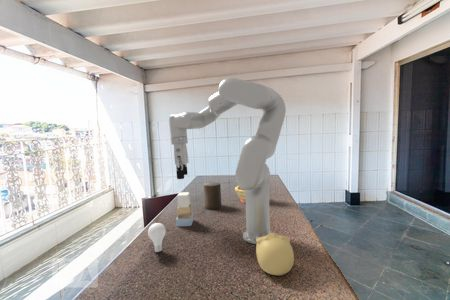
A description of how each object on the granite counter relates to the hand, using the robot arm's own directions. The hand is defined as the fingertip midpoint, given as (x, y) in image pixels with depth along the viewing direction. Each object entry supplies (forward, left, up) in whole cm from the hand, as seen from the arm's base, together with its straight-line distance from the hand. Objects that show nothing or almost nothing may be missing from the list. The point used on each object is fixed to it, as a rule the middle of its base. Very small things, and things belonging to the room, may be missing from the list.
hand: (182, 176), depth 110 cm
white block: (0, 0, -14) cm, 14 cm away
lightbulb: (-25, +6, -23) cm, 35 cm away
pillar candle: (+22, -13, -23) cm, 35 cm away
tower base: (+1, 0, -23) cm, 23 cm away
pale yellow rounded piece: (-39, -35, -23) cm, 57 cm away
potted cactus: (+30, -34, -23) cm, 51 cm away
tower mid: (+1, 0, -19) cm, 19 cm away
